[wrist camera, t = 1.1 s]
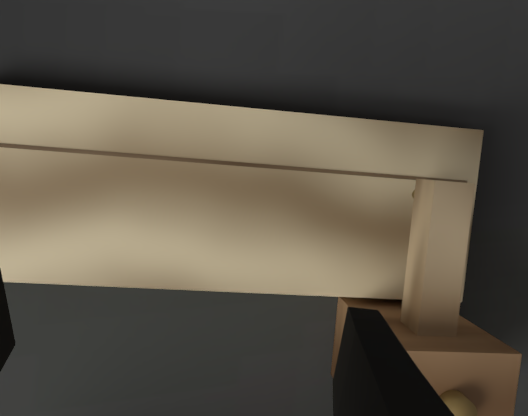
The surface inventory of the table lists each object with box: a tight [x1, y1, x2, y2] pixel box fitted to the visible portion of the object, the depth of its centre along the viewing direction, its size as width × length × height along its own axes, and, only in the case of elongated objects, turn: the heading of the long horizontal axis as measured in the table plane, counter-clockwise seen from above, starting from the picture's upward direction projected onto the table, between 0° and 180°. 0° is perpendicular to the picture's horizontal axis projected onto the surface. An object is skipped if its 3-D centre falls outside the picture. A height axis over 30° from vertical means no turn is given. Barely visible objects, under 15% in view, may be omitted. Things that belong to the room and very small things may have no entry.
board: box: [0, 84, 484, 302], centre depth 21 cm, size 8×22×2 cm, turn 85°
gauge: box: [331, 179, 522, 416], centre depth 19 cm, size 12×5×7 cm, turn 175°
